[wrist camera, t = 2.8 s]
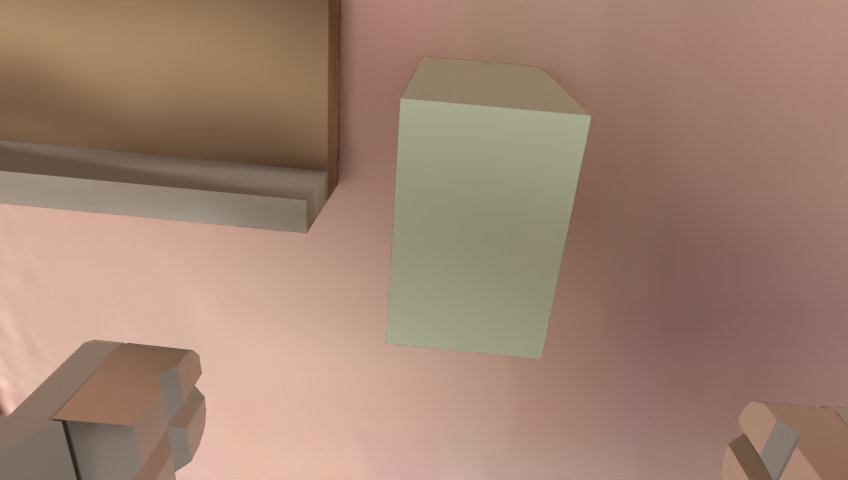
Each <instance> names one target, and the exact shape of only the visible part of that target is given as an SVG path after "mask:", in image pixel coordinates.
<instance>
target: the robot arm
mask: <svg viewBox="0 0 848 480" xmlns="http://www.w3.org/2000/svg"><path fill="white" fill-rule="evenodd" d="M201 374H202V370H201V364H200V358H199V355H198V354H197V353H196V352H195V351H193V350H186V349H177V348H168V347H160V346H151V345H142V344H133V343H127V344H125V343H120V342H111V341H101V340H92V341H89V342H86V343H83V344H82V345H81V346H80V347H79V348H78V349H77V350H76V351H75V352H74V353H73V354H72V355H71V356H70V357H69V358H68V359H67V360H66V361H65V362H64V363H63V364H62V365H61V366H60V367H59V368H57V369H56V370H55V371H54V372H53V373H52V374H51V375H50V376H49V377H48V378H47V379H46V380H45V381H44V382H43V383H42V384H41V385H40V386H39V387H38V388H37V389H36V390H35V391H34V392H33V393H32V394H31V395H30V396H29V397H28V398H27V399H26V400H25V401H24V402H23V403H22V404H21V405H19V406H18V407H17V408H16V409H15V410H14V411H13V412H12V413H11V414H10V415H9V416H0V480H176V477H175V472H176V471H177V470H179V469H181V468H182V467H184V466H185V465H187V464H188V463H190V462H191V461H192V459H193V457H194V455H195V453H196V451H197V449H198V447H199V445H200V441H201V438H202V434H203V431H204V427H205V418H206V404H205V397H204V396H203V395H202V393H201V392H200V391H199V390H198V389H197V388H196V387H195V386H194V385H195V384H196V382H197V380H198V379H199V377H200V376H201ZM738 423H739V426H740V428H741V430H742V432H743V434H742V435H741V436H740V437H738V438H737V439H735V440H734V441H732V442H731V443H729V444H728V446H727V449H726V452H725V454H724V457H723V460H722V480H848V408H843V407H828V406H822V407H815V406H803V405H792V404H780V403H768V402H756V401H752V402H750V403H749V404H748V405H747V406H746V407H745V408H744V409H743V411H742V413H741V416H740V418H739V420H738Z"/></svg>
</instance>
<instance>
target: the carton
mask: <svg viewBox="0 0 848 480" xmlns="http://www.w3.org/2000/svg"><path fill="white" fill-rule="evenodd" d="M590 121H591V115H590V114H589V113H588V112H587V111H586V110H585V109H584V108H583V107H582V106H581V105H580V104H579V103H578V102H577V101H576V100H575V99H573V98H572V97H571V96H570V95H569V94H568V93H567V92H566V91H565V90H564V89H563V88H562V87H561V86H560V85H559V84H558V83H557V82H556V81H555V80H554V79H553V78H552V77H551V76H549V75H548V74H547V73H546V72H545V71H544V70H543V69H542V68H541V67H536V66H525V65H514V64H503V63H492V62H480V61H469V60H458V59H447V58H436V57H425V56H424V57H423V58H422V60H421V62H420V64H419V66H418V67H417V69H416V71H415V73H414V75H413V77H412V78H411V80H410V82H409V84H408V86H407V87H406V89H405V91H404V93H403V95H402V96H401V98H400V114H399V131H398V148H397V165H396V181H395V198H394V215H393V232H392V248H391V265H390V282H389V299H388V315H387V332H386V344H396V345H406V346H416V347H426V348H436V349H446V350H456V351H465V352H475V353H485V354H495V355H505V356H515V357H525V358H535V359H541V358H542V353H543V349H544V344H545V339H546V334H547V329H548V324H549V319H550V315H551V310H552V305H553V300H554V295H555V290H556V286H557V281H558V276H559V271H560V266H561V261H562V256H563V252H564V247H565V242H566V237H567V232H568V227H569V223H570V218H571V213H572V208H573V203H574V198H575V193H576V189H577V184H578V179H579V174H580V169H581V164H582V160H583V155H584V150H585V145H586V140H587V135H588V131H589V126H590Z"/></svg>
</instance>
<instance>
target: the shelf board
mask: <svg viewBox="0 0 848 480" xmlns="http://www.w3.org/2000/svg"><path fill="white" fill-rule="evenodd" d="M339 56H340V0H0V203H1V204H11V205H22V206H32V207H42V208H53V209H63V210H73V211H83V212H94V213H104V214H114V215H124V216H135V217H145V218H155V219H165V220H176V221H186V222H196V223H207V224H217V225H227V226H237V227H248V228H258V229H268V230H278V231H289V232H299V233H307V232H308V230H309V229H310V227H311V226H312V224H313V223H314V221H315V219H316V218H317V216H318V215H319V213H320V211H321V210H322V208H323V207H324V205H325V204H326V202H327V200H328V199H329V197H330V196H331V194H332V193H333V191H334V189H335V188H336V186H337V185H338V130H339Z"/></svg>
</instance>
